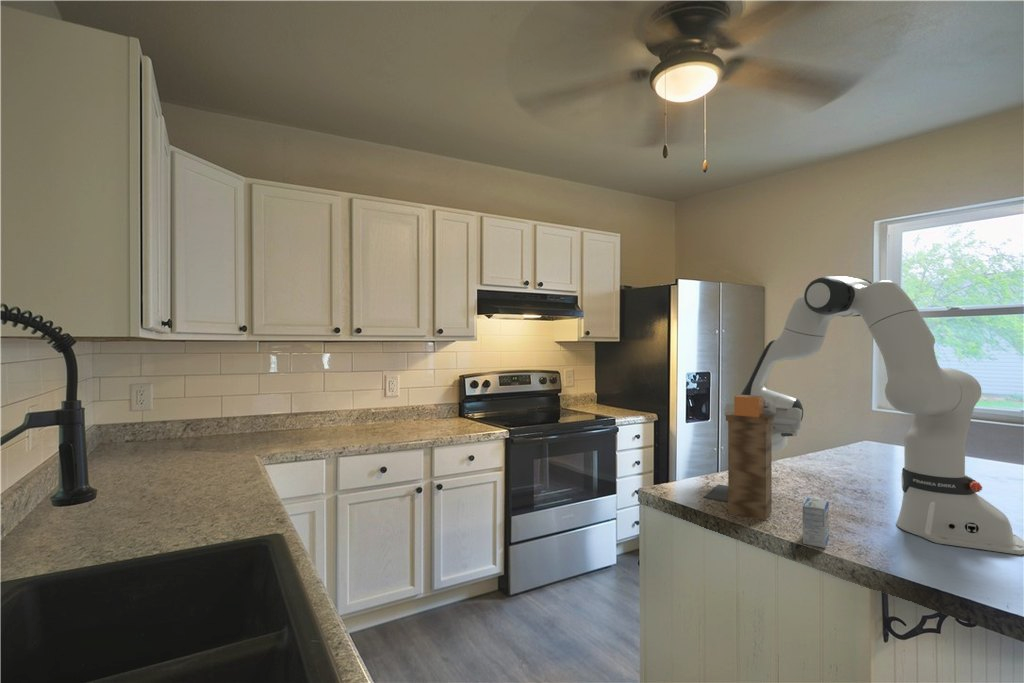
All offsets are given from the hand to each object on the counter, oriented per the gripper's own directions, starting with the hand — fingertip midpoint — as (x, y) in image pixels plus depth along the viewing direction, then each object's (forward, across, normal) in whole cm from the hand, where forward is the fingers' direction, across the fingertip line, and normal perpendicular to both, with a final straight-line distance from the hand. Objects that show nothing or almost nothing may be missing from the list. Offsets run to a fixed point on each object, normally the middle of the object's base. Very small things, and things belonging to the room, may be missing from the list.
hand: (757, 403), depth 139 cm
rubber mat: (-17, -9, +23) cm, 30 cm away
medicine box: (+5, +16, +35) cm, 39 cm away
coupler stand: (-5, 0, +29) cm, 30 cm away
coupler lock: (+4, 0, +5) cm, 6 cm away
